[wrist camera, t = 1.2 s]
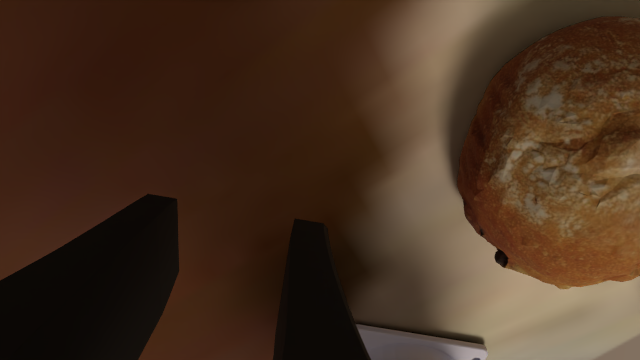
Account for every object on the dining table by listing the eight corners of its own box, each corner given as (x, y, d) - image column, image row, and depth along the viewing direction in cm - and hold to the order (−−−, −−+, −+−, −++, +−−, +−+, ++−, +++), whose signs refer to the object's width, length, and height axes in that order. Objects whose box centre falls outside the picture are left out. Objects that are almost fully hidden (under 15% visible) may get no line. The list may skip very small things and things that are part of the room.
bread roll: (671, 100, 20) (936, 86, 12) (572, 292, 21) (760, 398, 13) (497, 4, 18) (671, -87, 10) (397, 216, 19) (488, 284, 11)
